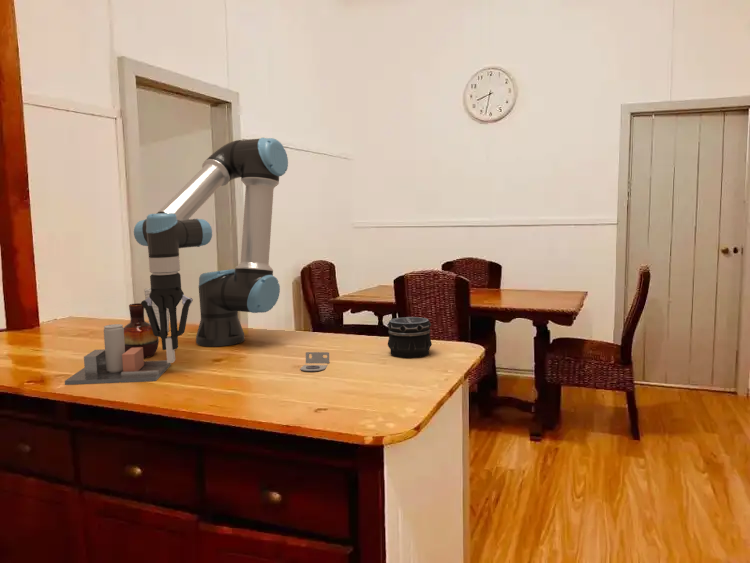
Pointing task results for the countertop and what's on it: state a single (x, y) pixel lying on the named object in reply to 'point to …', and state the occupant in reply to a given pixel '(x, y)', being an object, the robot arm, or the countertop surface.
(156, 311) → the cup
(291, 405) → the countertop surface
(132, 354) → the block
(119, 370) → the beverage can
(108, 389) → the countertop surface
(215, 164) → the robot arm
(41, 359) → the countertop surface
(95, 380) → the grey vise base
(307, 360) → the bracket
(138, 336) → the vase
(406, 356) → the container
